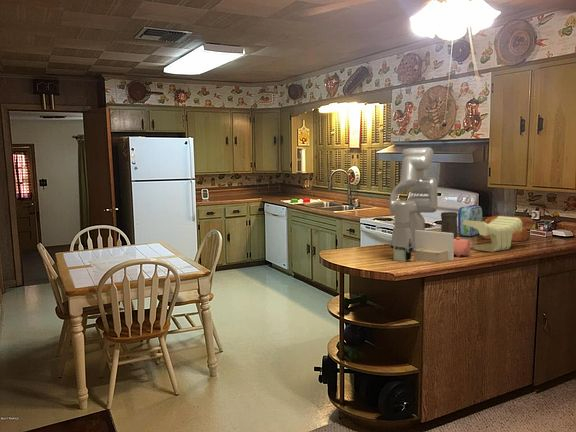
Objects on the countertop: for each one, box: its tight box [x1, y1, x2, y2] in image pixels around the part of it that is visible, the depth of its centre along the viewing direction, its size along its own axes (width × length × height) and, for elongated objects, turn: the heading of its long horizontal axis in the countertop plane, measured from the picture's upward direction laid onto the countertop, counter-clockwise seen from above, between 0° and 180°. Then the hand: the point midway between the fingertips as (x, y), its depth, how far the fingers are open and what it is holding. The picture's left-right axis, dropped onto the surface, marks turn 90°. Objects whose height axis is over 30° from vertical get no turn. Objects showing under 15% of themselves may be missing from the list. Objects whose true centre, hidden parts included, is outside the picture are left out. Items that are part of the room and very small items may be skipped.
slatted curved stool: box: [463, 215, 522, 253], centre depth 277 cm, size 30×16×18 cm, turn 118°
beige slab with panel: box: [413, 230, 455, 264], centre depth 255 cm, size 22×12×14 cm, turn 42°
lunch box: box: [457, 204, 483, 237], centre depth 336 cm, size 26×11×21 cm, turn 141°
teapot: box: [454, 236, 472, 258], centre depth 263 cm, size 14×12×10 cm
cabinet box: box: [393, 247, 412, 263], centre depth 255 cm, size 6×7×8 cm
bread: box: [481, 215, 528, 242], centre depth 314 cm, size 14×26×16 cm, turn 45°
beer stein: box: [440, 211, 458, 239], centre depth 306 cm, size 15×11×20 cm
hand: (402, 258), depth 255 cm, fingers open, 7 cm apart
